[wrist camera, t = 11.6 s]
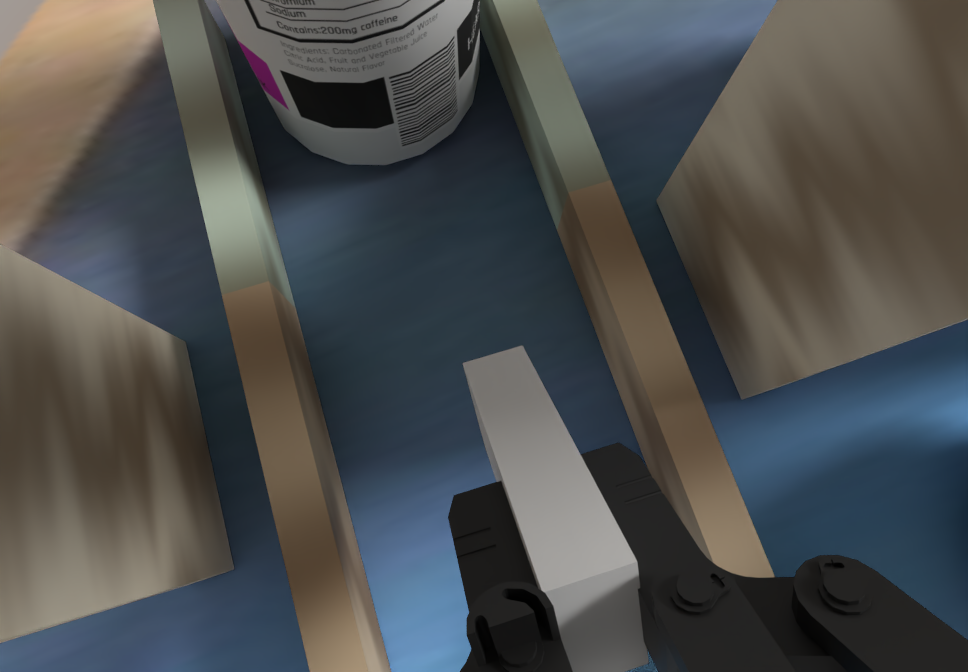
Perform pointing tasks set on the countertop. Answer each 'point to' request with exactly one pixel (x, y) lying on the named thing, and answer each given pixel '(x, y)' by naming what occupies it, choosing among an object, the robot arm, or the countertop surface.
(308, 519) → the channel rails
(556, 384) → the countertop surface
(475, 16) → the supplement can
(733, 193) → the tall beige pillar block
